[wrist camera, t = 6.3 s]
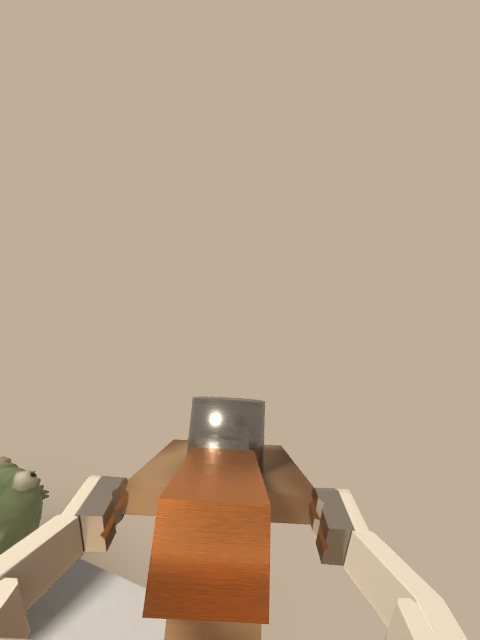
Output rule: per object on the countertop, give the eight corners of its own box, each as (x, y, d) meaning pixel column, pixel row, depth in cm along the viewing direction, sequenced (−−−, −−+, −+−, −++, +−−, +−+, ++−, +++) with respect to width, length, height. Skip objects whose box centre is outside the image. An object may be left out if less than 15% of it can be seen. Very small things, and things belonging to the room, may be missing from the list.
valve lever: (258, 457, 20) (260, 399, 22) (316, 626, 6) (311, 424, 7) (192, 454, 20) (198, 395, 22) (93, 614, 6) (130, 414, 7)
